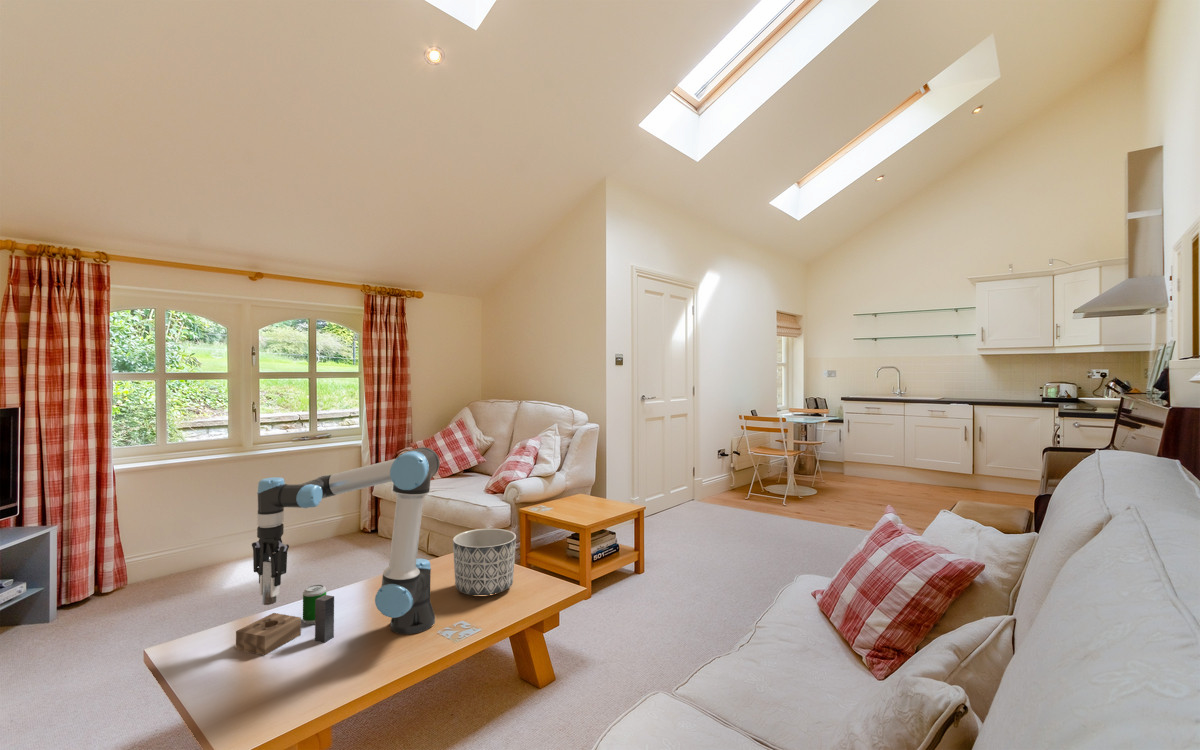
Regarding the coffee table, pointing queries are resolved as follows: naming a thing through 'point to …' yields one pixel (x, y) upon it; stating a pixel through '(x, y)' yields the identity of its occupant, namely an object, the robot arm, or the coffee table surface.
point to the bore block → (268, 633)
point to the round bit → (267, 583)
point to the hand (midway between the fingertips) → (269, 594)
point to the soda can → (311, 602)
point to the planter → (484, 561)
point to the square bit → (324, 618)
